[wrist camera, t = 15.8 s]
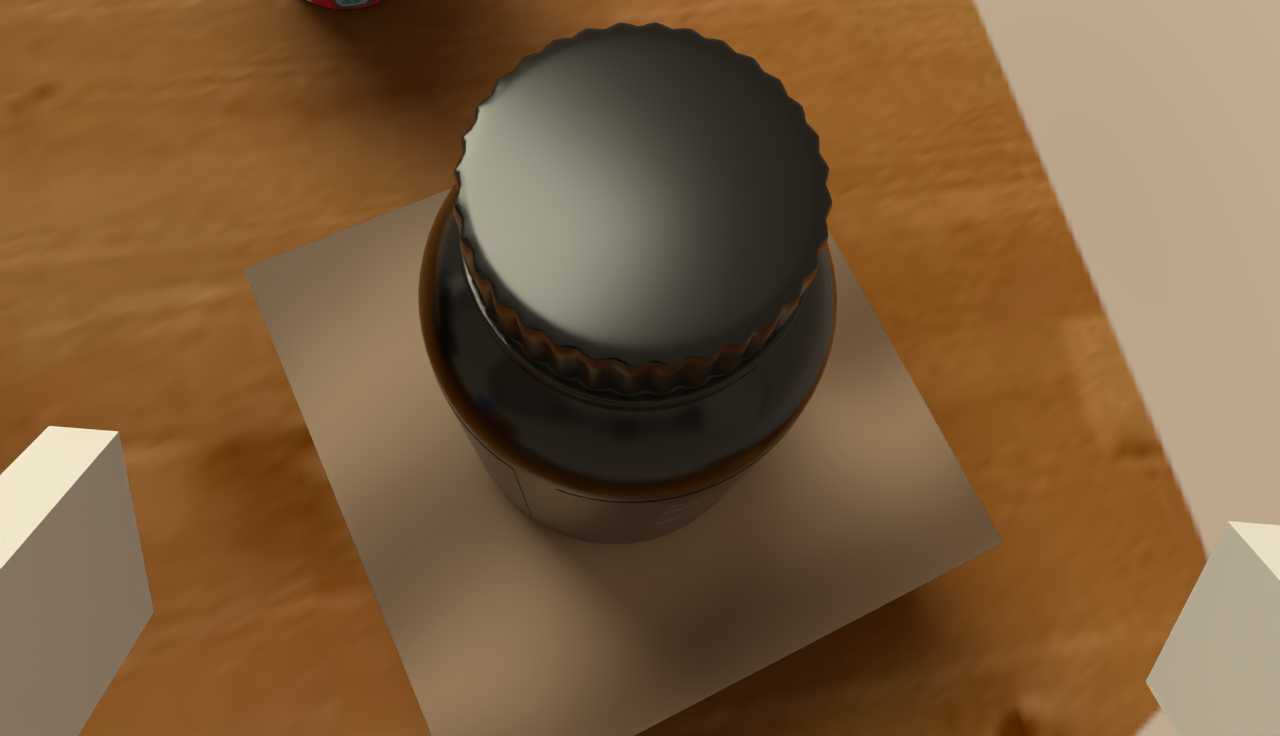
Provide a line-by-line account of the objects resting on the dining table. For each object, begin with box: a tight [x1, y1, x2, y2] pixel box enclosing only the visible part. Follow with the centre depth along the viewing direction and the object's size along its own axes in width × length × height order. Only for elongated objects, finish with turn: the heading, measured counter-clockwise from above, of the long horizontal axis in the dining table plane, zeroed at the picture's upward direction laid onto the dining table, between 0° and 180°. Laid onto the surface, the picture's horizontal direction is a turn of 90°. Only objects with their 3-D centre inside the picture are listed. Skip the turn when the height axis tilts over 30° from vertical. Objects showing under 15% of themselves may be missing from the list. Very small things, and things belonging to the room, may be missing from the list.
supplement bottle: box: [418, 22, 837, 544], centre depth 17 cm, size 7×7×12 cm
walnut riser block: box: [244, 188, 1003, 736], centre depth 27 cm, size 14×14×7 cm
